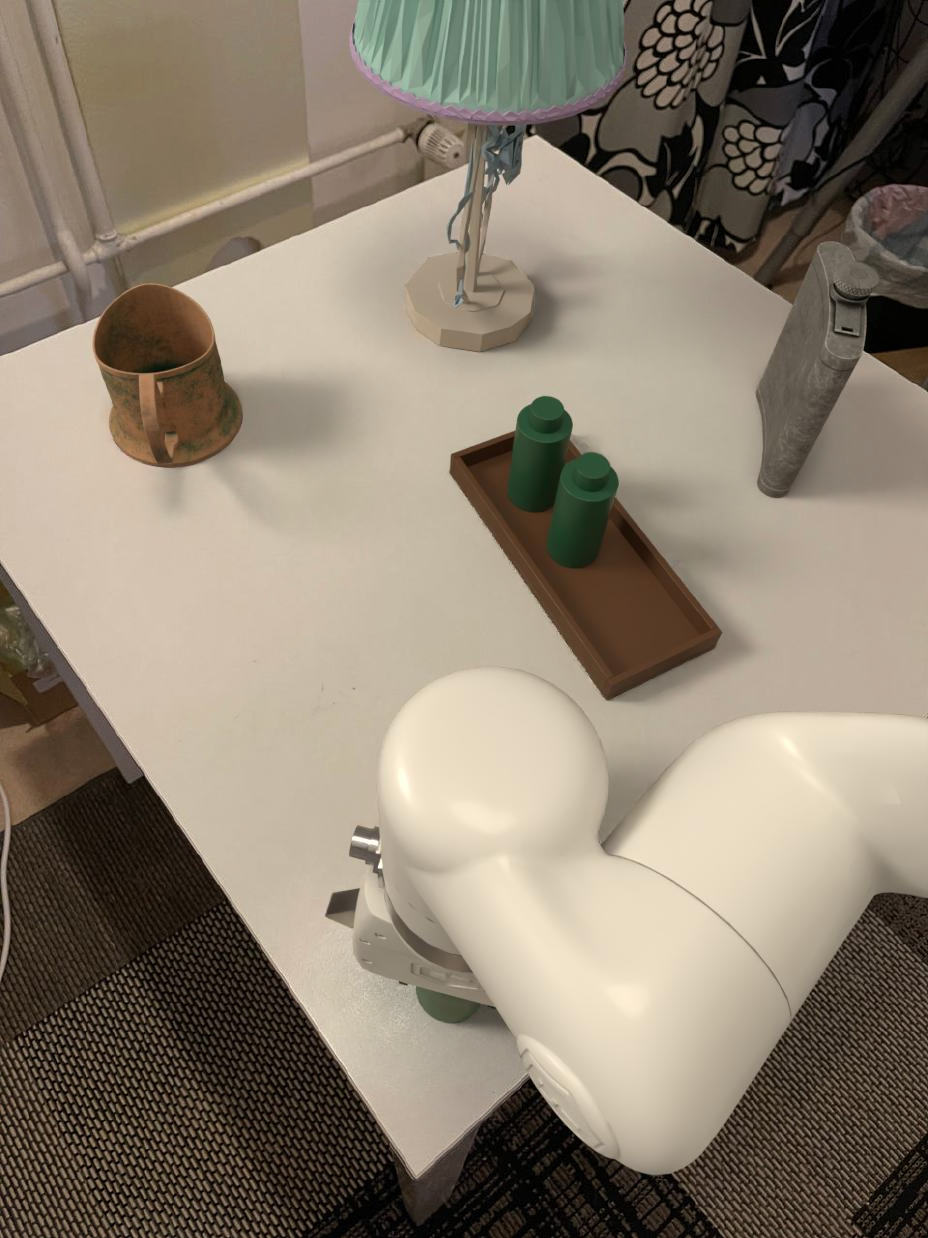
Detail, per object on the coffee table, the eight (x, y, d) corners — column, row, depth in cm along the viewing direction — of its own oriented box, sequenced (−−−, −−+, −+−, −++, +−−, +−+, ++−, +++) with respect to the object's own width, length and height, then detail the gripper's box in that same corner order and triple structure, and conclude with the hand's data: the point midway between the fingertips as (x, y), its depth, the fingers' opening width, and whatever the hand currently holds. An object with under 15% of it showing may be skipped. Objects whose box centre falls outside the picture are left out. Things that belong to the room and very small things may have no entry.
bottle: (498, 1001, 57) (513, 965, 49) (435, 1037, 56) (440, 1007, 48) (464, 936, 59) (474, 892, 51) (403, 970, 58) (403, 930, 50)
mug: (109, 529, 75) (63, 424, 65) (110, 379, 84) (70, 267, 74) (252, 512, 77) (229, 408, 67) (238, 367, 86) (215, 256, 76)
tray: (714, 648, 72) (723, 632, 70) (606, 700, 69) (612, 685, 67) (548, 435, 84) (551, 416, 82) (449, 472, 81) (450, 453, 79)
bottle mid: (609, 556, 76) (634, 475, 67) (564, 576, 74) (584, 495, 66) (580, 519, 78) (601, 435, 69) (536, 537, 76) (552, 454, 68)
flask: (793, 388, 89) (872, 220, 74) (798, 501, 81) (889, 338, 66) (755, 383, 89) (826, 213, 74) (757, 494, 81) (837, 331, 66)
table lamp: (556, 403, 86) (653, -115, 52) (333, 357, 88) (289, -173, 54) (592, 263, 97) (691, -235, 64) (394, 225, 99) (390, -280, 66)
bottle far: (567, 501, 79) (586, 417, 70) (523, 519, 77) (537, 435, 69) (541, 466, 81) (556, 380, 72) (497, 483, 79) (508, 397, 71)
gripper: (248, 912, 37) (294, 998, 53) (661, 1021, 36) (584, 1077, 51) (308, 747, 41) (335, 872, 57) (681, 839, 40) (605, 942, 55)
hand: (453, 969), depth 54 cm, fingers closed on bottle, 4 cm apart
